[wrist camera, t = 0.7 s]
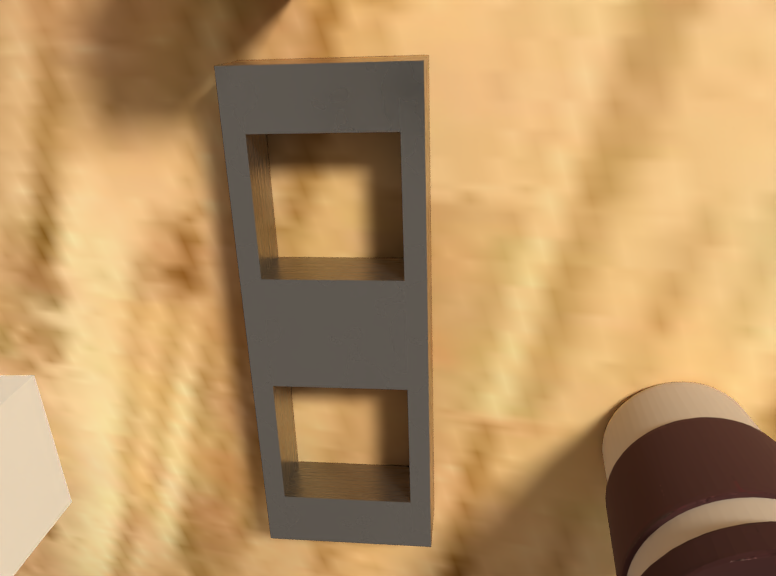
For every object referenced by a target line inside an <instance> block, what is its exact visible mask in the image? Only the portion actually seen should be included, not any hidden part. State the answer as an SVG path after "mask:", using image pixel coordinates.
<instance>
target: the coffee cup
mask: <svg viewBox="0 0 776 576" xmlns="http://www.w3.org/2000/svg"><path fill="white" fill-rule="evenodd" d="M602 453H603V460H604V467H605V473H606V479H607V487H606V508H607V515H608V522H609V528H610V535H611V541H612V548H613V554H614V561H615V568H616V574H617V576H776V442H775V441H774V440H773V439H771V438H770V437H769V436H767V435H766V434H765V433H763V432H762V431H761V430H760V429H759V428H758V426H757V425H756V424H755V423H754V422H753V420H752V419H751V418H750V417H749V416H748V414H747V413H746V412H745V411H744V409H743V408H742V407H741V406H740V405H739V404H738V403H737V402H736V401H735V400H734V399H732V398H731V397H729V396H728V395H727V394H725V393H723V392H721V391H719V390H717V389H715V388H713V387H710V386H707V385H704V384H699V383H692V382H671V383H664V384H660V385H656V386H653V387H650V388H647V389H645V390H643V391H641V392H639V393H637V394H635V395H634V396H632V397H631V398H630V399H628V400H627V401H626V402H625V403H623V404H622V405H621V406H620V407H619V409H618V410H617V411H616V412H615V413H614V414H613V416H612V418H611V419H610V421H609V423H608V424H607V427H606V430H605V433H604V437H603V443H602Z"/></svg>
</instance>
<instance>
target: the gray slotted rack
mask: <svg viewBox="0 0 776 576" xmlns="http://www.w3.org/2000/svg"><path fill="white" fill-rule="evenodd" d="M214 69H215V77H216V85H217V94H218V102H219V110H220V119H221V127H222V135H223V144H224V152H225V160H226V169H227V177H228V185H229V194H230V202H231V210H232V218H233V227H234V235H235V243H236V252H237V260H238V268H239V277H240V285H241V293H242V302H243V310H244V318H245V327H246V335H247V343H248V351H249V360H250V368H251V376H252V385H253V393H254V401H255V410H256V418H257V426H258V435H259V443H260V451H261V460H262V468H263V476H264V485H265V493H266V501H267V509H268V518H269V526H270V534H271V538H278V539H296V540H314V541H333V542H351V543H370V544H388V545H406V546H425V547H431V541H432V529H433V517H434V452H433V369H432V287H431V205H430V122H429V55H411V56H375V57H340V58H304V59H268V60H237V61H233V62H229V63H225V64H221V65H217V66H214ZM362 132H400V134H401V170H402V207H403V244H404V258H322V257H278V249H277V239H276V229H275V218H274V208H273V198H272V187H271V177H270V167H269V157H268V146H267V136H266V134H297V133H362ZM291 387H324V388H359V389H395V390H408V426H409V463H410V466H391V465H366V464H342V463H318V462H298V455H297V444H296V434H295V424H294V413H293V403H292V393H291Z"/></svg>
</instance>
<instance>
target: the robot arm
mask: <svg viewBox="0 0 776 576" xmlns="http://www.w3.org/2000/svg"><path fill="white" fill-rule="evenodd" d="M71 502H72V500H71V497H70V494H69V490H68V487H67V484H66V480H65V477H64V473H63V470H62V467H61V463H60V460H59V457H58V453H57V450H56V447H55V443H54V440H53V436H52V433H51V430H50V426H49V423H48V420H47V416H46V413H45V410H44V406H43V403H42V399H41V396H40V393H39V389H38V386H37V383H36V379H35V376H34V375H0V576H14V575H15V573H16V572H17V571H18V570H19V568H20V567H21V566H22V565H23V563H24V562H25V561H26V559H27V558H28V557H29V556H30V554H31V553H32V552H33V551H34V549H35V548H36V547H37V546H38V544H39V543H40V542H41V540H42V539H43V538H44V537H45V535H46V534H47V533H48V532H49V530H50V529H51V528H52V527H53V525H54V524H55V523H56V521H57V520H58V519H59V518H60V516H61V515H62V514H63V513H64V511H65V510H66V509H67V508H68V506H69V505H70V504H71Z"/></svg>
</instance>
